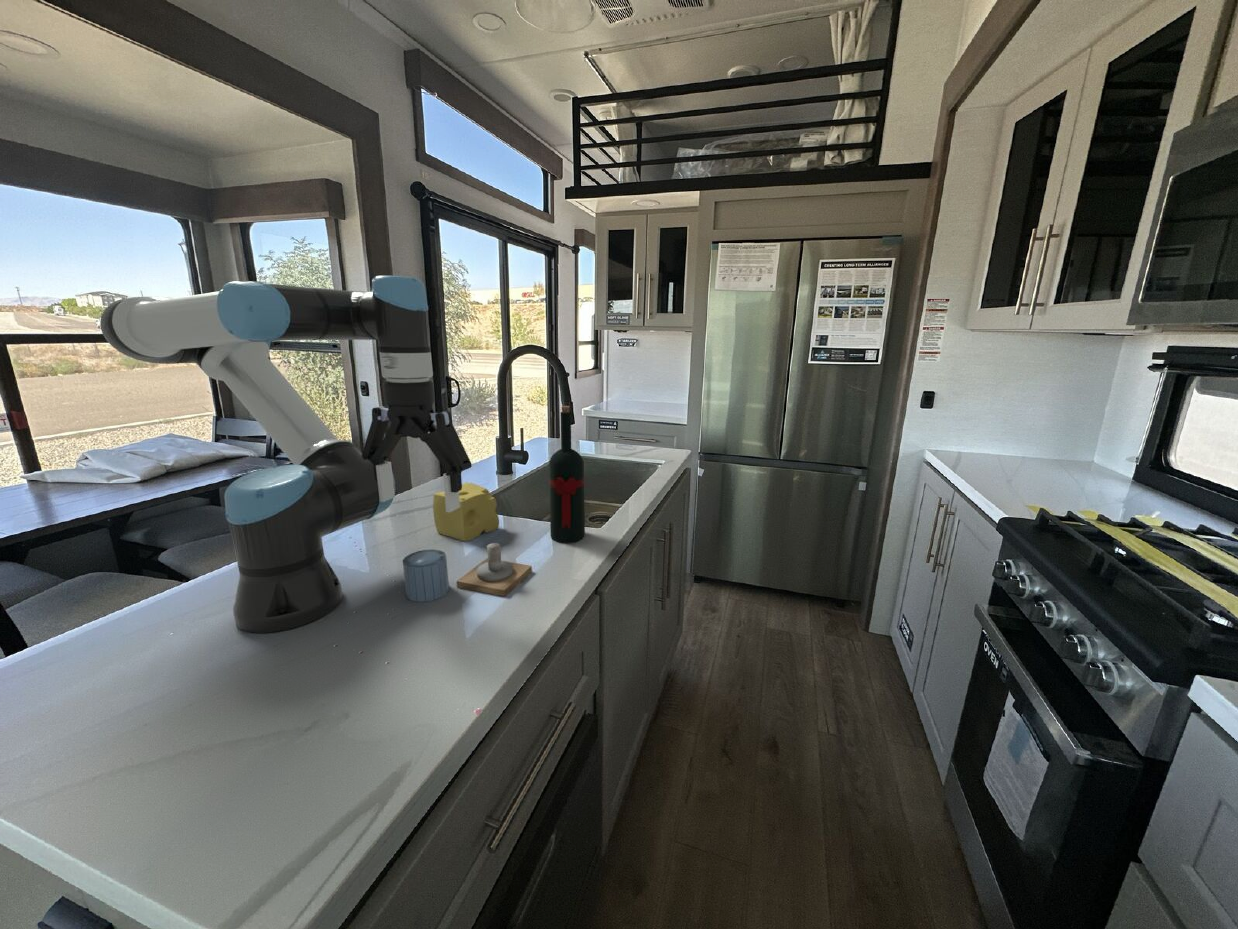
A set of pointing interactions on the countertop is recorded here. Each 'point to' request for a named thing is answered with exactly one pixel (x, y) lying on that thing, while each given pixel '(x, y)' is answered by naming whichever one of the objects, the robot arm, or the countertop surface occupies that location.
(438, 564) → the cap
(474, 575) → the wooden square stand
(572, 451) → the wine bottle
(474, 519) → the cheese
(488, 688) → the countertop surface
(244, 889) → the countertop surface
